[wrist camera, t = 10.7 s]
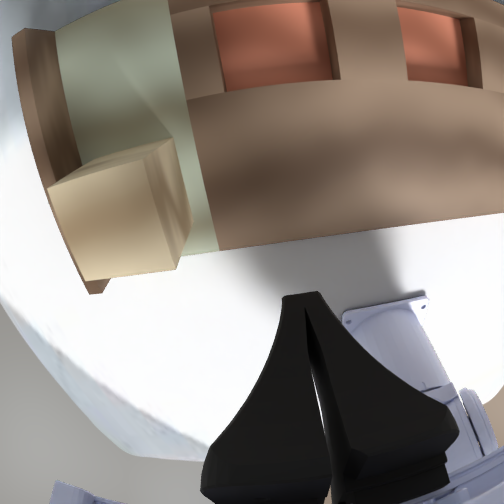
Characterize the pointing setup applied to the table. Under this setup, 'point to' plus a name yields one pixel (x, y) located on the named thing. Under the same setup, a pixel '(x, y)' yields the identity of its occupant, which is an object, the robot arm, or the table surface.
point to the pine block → (125, 212)
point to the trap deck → (280, 109)
